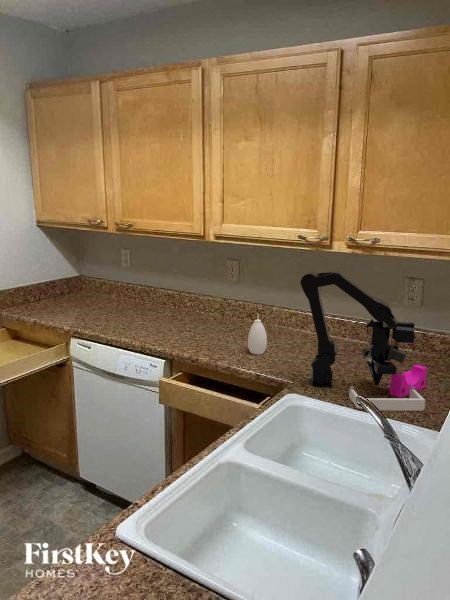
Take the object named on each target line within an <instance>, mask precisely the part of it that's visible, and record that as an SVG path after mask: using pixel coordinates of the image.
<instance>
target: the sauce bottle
mask: <svg viewBox="0 0 450 600" xmlns="http://www.w3.org/2000/svg"><path fill="white" fill-rule="evenodd" d="M256 317H257V319H255V320H254V322H253V324H251V327H250V329H249V332H248V335H247V336H248V337H247V348H248V350H249V352H250V354H251V355H259V356H260V355H263V354H264V353H265V351H266V348H267V345H268V336H267V331H266V329H265V326H264V325H263V323H262V320H261V319H259V315H257V316H256Z"/></svg>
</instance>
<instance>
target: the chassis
mask: <svg viewBox="0 0 450 600" xmlns="http://www.w3.org/2000/svg"><path fill="white" fill-rule="evenodd" d="M348 394H349V395H348V398H349V400H350V401H351V403H352V402H353V403H354V404H355V406H356V407H357V408H362V407H360V406H359V405H358V404H357V403H356V397H357V396H359V395H358V394H357V392H356V391H355V389H354V386H353V385H352V386H351V385H350V386H349V392H348ZM366 399H368V400H369V401H370V402H372V403H373V404H374V405H375V406H376V407H377V408H378V409H379V410H378V411H394V412H395V411H396V412H397V411H398V412H399V411H406V412H408V411H409V412H410V411H413V412H414V411H415V412H417V411H420V412H421V411H422V412H423V411H425V405H426V399H425V398H423V396H422V395H421V394H420V393H418V391H416V390H415V388H414V387H410V394H409V398H405V397H401V398H399V397H396V398H391V397H389V398H386V397H382V398H381V397H380V398H379V397H377V398H373V397H371V398H370V397H368V398H367V397H366ZM353 403H352V404H353ZM354 404H353V405H354ZM355 406H354V407H355ZM356 407H355V408H356Z"/></svg>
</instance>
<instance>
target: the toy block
mask: <svg viewBox="0 0 450 600" xmlns="http://www.w3.org/2000/svg"><path fill="white" fill-rule="evenodd" d="M427 371H428V367H427V366H424V365H420V364H415V365H413V366H412V368H411V370H407V371H405V372H402V374H401V373H399V372H397V374H391V375H390V376H391V378H390V389H389V394H390V395H391V396H394V397H396V398H404V397H405V396H407V395H410V387H414V388H415V390H416V391H417V392H418V391H420V390H422V389H425V388H426V385H427V384H426V381H427V373H428V372H427Z"/></svg>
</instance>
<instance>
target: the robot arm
mask: <svg viewBox="0 0 450 600" xmlns="http://www.w3.org/2000/svg"><path fill="white" fill-rule="evenodd" d="M299 282H300V286H301V288H302V291H303V293H304V295H305V297H306V299H307V300H308V302H309V307H310V311H311V315H312V320H313V324H314V329H315V332H316V333H315V334H316V336H317V337H316V338H317V354H316V355H315V356H314V357H313V360H312V362H311V373H310V378H309V381H310V384H311V385H312V387H332V386H333V385H332V383H333V371H332V365H333V364H335V361H336V359H337V357H338V353H339V350H340V349H339V348H338V345H337V339H332V337H331V336H330V332H329V327H328V323H327V319H326V314H325V310H324V307H323V301H322V298H321V295H322V294H321V291H322V287H326V286H332V285H334V286H336V287H337V288H339V289H340V290H341V291H342V292H343V293H344V292H345V294H347V295H348V296H349V297H351V298H352V299H354V300H355V301H357V302H358V303H359V304H360V305H361V306H363V307H364V308H365V310H366V311H367V312H368V313H369V314H370V316H372V318H370V320H369V321H367V322H366V328H368V327H369V328H371V335H370V336H371V338H370V340H368V344H369V346H370V347H364V348H363V349H362V350H361V354H360V355H361V357H362V358H366V356H368V357H367V358H368V360H367V361H366V362H365V363H366V365H367V367H368V370H369V373H370V376H371V378H372V381H373V384H374V385H375V386H379V385H380V381H381V380H382V378H383V375H392V374H397V373H398V367H397V366H396V365H395V364H394V363H393V362H392V361H395V362H397V363H398V362H399V364H403V363H404V362H405V359H406V357H407V354H406V353H405V352H404V351H402V350H401V349H399V348H400V347H399V346H398V345H397V344H394V343H400V344H401V343H402V344H412V345H413V344H414V342H415V322H411V321H410V322H405V321H403V322H402V321H397V319H396V317H395V316H394V314H393V313H392V312H393V311H392V306H391V304H390V303H388V302H387V301H384V300H383V299H381V298H378V297H376V296H374V295H371V294H370V293H368V292H367V291H365V290H364V289H363V288H362V287H360V286H359V285H357V284H356V283H355V282H354V281H352V280H351V279H349V278H348V277H346V276H345V275H344V274H342V272H341V271H339V270H335V271H329V272H327V271H326V272H318V273H317V271H308V272H306V273H305V274H304V275H303V276H302V277H301V278H300V281H299ZM375 320H376V321H375ZM391 332H392V333H391ZM390 337H391V340H392V339H393V341H394V343H392V344H390Z"/></svg>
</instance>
